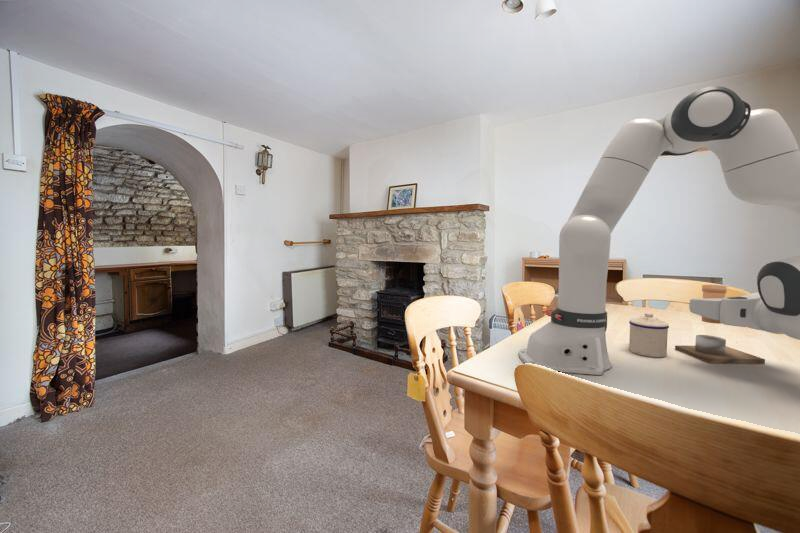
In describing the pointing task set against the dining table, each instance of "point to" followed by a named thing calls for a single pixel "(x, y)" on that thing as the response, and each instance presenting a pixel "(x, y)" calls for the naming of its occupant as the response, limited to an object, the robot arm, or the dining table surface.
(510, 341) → the dining table surface
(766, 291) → the robot arm
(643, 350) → the teacup with lid
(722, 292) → the peach lidded canister
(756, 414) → the dining table surface
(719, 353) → the stud board
